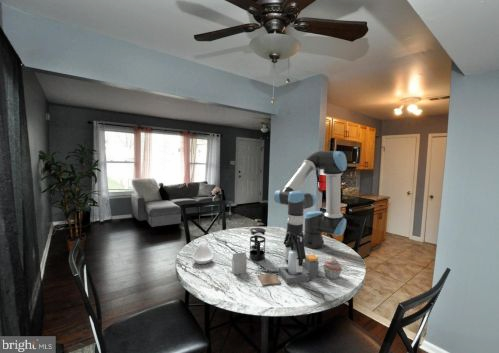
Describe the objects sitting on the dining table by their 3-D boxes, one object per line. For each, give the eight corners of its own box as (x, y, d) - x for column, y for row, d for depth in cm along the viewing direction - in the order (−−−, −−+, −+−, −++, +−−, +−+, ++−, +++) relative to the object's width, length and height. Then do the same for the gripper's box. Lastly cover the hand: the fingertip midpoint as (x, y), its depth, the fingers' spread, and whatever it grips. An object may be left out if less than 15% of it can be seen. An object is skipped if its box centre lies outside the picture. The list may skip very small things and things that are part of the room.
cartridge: (295, 274, 118) (296, 249, 117) (299, 279, 113) (300, 253, 112) (286, 275, 117) (287, 250, 116) (290, 280, 112) (291, 254, 111)
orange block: (313, 265, 120) (313, 254, 120) (317, 269, 116) (318, 258, 115) (304, 266, 119) (305, 255, 119) (309, 270, 115) (310, 259, 114)
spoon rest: (214, 266, 126) (214, 253, 125) (192, 268, 123) (192, 254, 122) (211, 249, 149) (211, 238, 148) (192, 250, 146) (192, 239, 145)
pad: (274, 274, 118) (274, 273, 117) (281, 283, 109) (281, 282, 109) (257, 276, 115) (257, 275, 115) (262, 286, 107) (263, 284, 107)
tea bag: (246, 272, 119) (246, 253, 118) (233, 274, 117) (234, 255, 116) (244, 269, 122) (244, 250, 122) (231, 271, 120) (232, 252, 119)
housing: (309, 269, 124) (310, 255, 123) (321, 280, 113) (322, 264, 112) (278, 273, 119) (278, 258, 119) (287, 284, 108) (287, 268, 108)
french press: (266, 261, 132) (268, 222, 131) (250, 262, 131) (251, 222, 129) (263, 253, 144) (264, 216, 142) (247, 253, 143) (248, 216, 141)
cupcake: (324, 270, 124) (325, 252, 123) (343, 275, 119) (344, 256, 118) (320, 277, 116) (321, 258, 115) (339, 283, 111) (341, 263, 110)
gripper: (278, 217, 124) (277, 255, 126) (299, 231, 100) (297, 278, 102) (291, 216, 126) (289, 254, 128) (315, 230, 102) (312, 277, 104)
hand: (293, 265), depth 115 cm, fingers open, 12 cm apart
